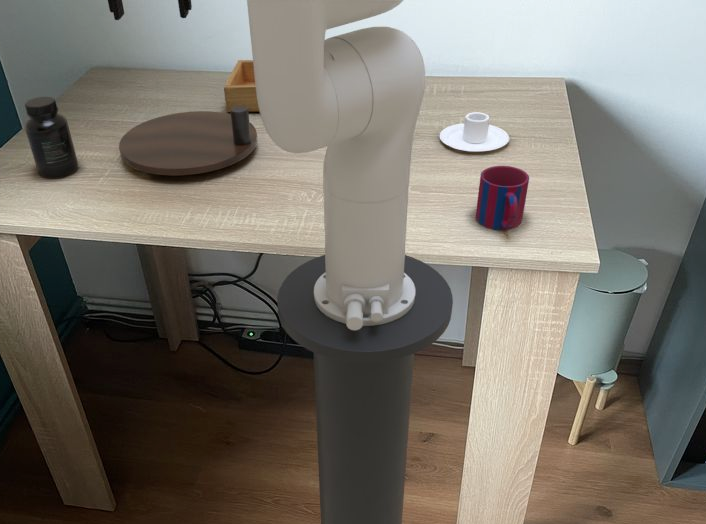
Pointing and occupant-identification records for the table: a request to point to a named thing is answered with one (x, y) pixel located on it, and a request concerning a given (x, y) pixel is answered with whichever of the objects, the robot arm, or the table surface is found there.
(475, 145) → the candle holder
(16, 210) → the table surface
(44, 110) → the supplement bottle
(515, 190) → the mug
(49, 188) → the table surface
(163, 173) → the turntable
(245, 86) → the tray
